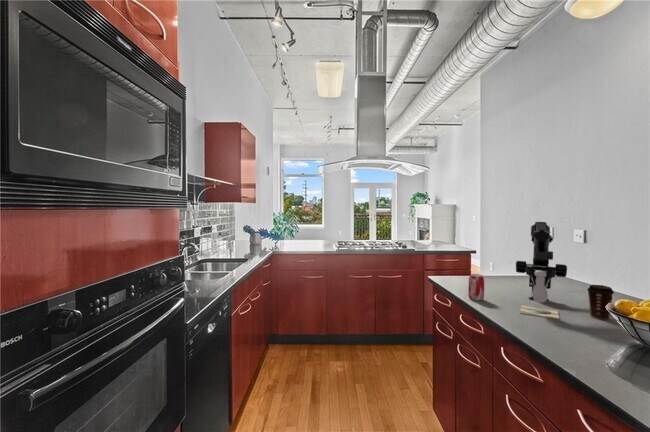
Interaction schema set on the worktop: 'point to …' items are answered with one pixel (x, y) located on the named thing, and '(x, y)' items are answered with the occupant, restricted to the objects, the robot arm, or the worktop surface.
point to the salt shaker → (540, 287)
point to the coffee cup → (599, 300)
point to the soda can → (476, 287)
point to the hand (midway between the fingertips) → (540, 285)
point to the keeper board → (539, 312)
